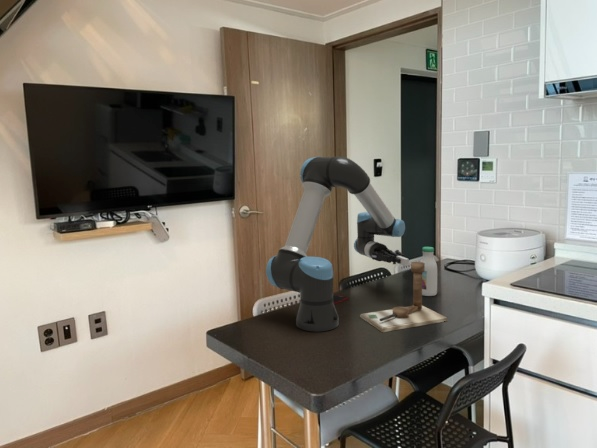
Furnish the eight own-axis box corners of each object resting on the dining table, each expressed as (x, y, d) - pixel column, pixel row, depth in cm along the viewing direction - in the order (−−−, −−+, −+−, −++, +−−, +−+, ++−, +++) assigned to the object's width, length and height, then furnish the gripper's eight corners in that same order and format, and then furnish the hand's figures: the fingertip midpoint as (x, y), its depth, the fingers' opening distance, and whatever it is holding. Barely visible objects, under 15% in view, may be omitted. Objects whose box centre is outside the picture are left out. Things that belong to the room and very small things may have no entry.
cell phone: (312, 304, 186) (312, 302, 186) (335, 296, 196) (334, 293, 196) (327, 308, 181) (327, 306, 180) (349, 299, 191) (349, 297, 191)
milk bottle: (435, 291, 198) (435, 245, 195) (438, 296, 190) (439, 249, 187) (416, 291, 199) (417, 245, 196) (419, 296, 191) (420, 249, 188)
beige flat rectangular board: (382, 332, 154) (382, 327, 153) (360, 317, 169) (360, 313, 168) (447, 321, 162) (447, 316, 162) (420, 307, 177) (420, 303, 177)
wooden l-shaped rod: (386, 324, 156) (386, 275, 153) (374, 319, 160) (374, 272, 158) (427, 308, 170) (428, 263, 168) (415, 304, 175) (415, 261, 172)
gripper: (389, 257, 202) (421, 270, 180) (363, 261, 197) (392, 274, 175) (389, 241, 200) (421, 251, 178) (363, 244, 196) (392, 255, 174)
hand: (407, 262), depth 177 cm, fingers closed
